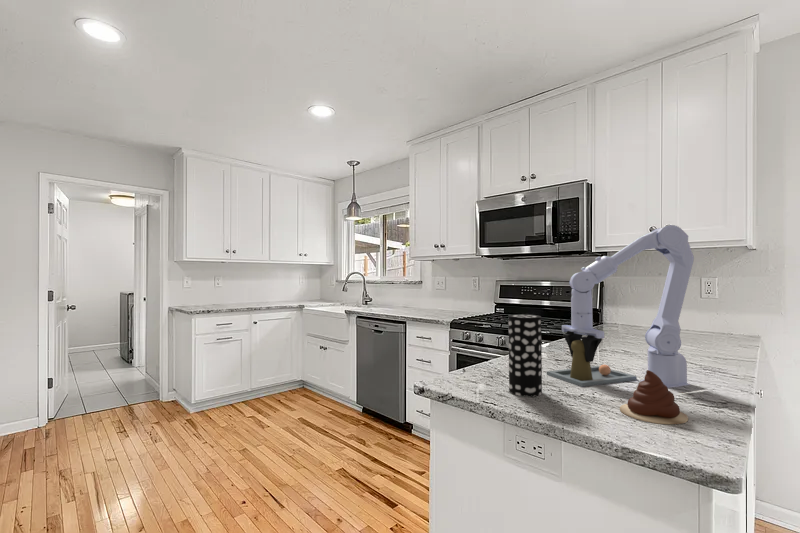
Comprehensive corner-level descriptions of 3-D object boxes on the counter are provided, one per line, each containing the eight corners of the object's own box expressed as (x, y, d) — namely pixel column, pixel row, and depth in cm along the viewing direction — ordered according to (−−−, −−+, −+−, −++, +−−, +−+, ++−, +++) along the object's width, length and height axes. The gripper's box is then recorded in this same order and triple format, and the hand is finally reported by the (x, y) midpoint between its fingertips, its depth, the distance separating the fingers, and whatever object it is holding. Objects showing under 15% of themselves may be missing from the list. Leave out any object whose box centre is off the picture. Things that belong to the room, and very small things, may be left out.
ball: (604, 373, 126) (604, 363, 126) (613, 376, 123) (613, 365, 123) (596, 374, 125) (596, 364, 125) (605, 377, 122) (604, 366, 122)
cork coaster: (647, 401, 100) (647, 400, 100) (702, 419, 88) (702, 418, 88) (606, 408, 96) (606, 406, 96) (658, 428, 84) (658, 426, 84)
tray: (597, 370, 132) (597, 365, 132) (636, 381, 119) (636, 376, 119) (546, 376, 125) (546, 371, 125) (581, 388, 112) (581, 383, 112)
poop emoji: (631, 416, 90) (630, 373, 90) (624, 404, 98) (624, 364, 98) (685, 421, 86) (684, 376, 86) (673, 408, 94) (673, 367, 94)
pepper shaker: (595, 381, 117) (595, 342, 117) (573, 380, 118) (572, 341, 118) (588, 375, 123) (587, 338, 123) (567, 375, 124) (566, 338, 124)
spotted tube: (547, 391, 109) (546, 315, 110) (533, 398, 103) (532, 318, 103) (518, 385, 115) (517, 313, 115) (503, 392, 109) (502, 316, 109)
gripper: (553, 311, 126) (553, 355, 126) (590, 316, 113) (590, 365, 113) (571, 310, 129) (572, 354, 129) (610, 315, 115) (610, 363, 115)
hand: (582, 359), depth 121 cm, fingers closed on pepper shaker, 5 cm apart
